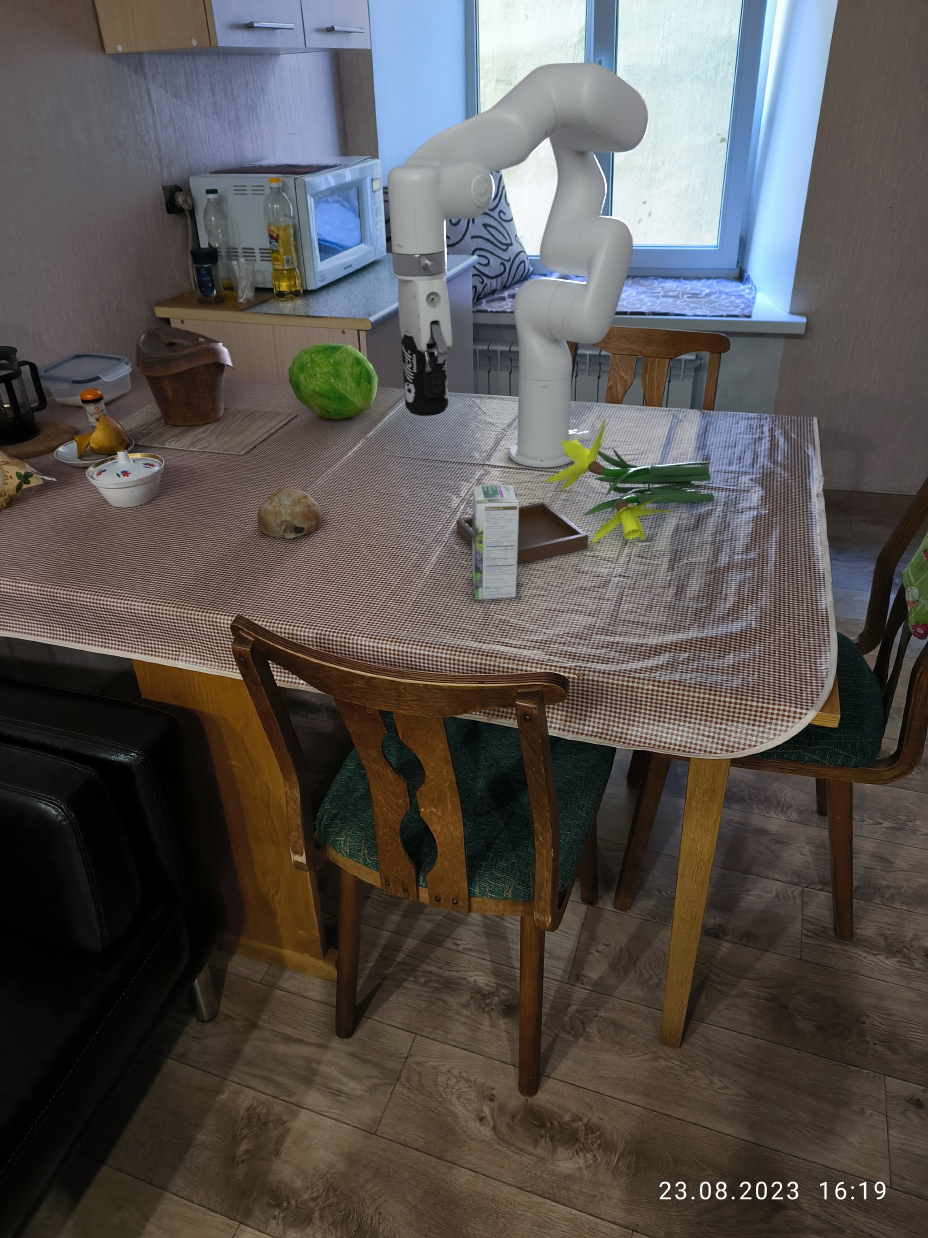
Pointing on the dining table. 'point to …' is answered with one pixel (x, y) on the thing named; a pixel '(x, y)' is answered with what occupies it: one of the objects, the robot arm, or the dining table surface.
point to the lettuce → (333, 380)
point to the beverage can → (419, 380)
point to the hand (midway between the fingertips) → (426, 389)
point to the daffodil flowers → (632, 475)
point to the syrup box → (495, 541)
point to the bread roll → (289, 514)
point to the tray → (538, 533)
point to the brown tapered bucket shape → (183, 374)
